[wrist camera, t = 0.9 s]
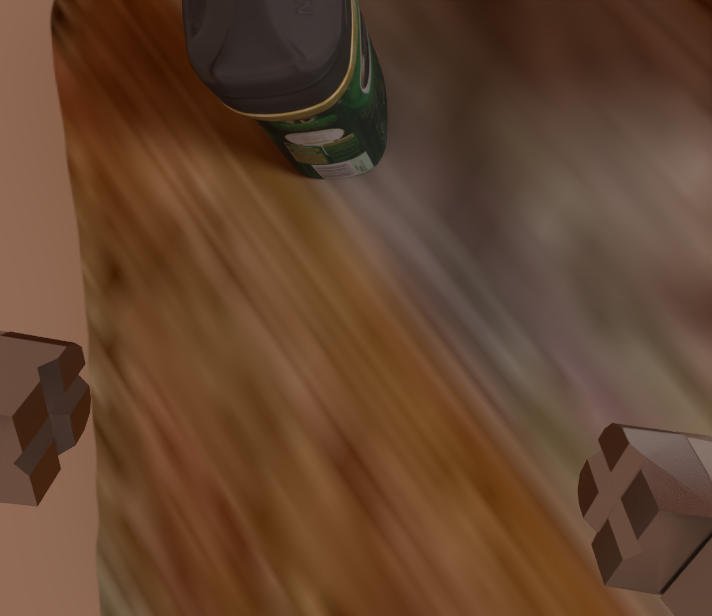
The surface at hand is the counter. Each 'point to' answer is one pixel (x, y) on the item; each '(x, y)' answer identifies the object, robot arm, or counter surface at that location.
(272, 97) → the coffee jar
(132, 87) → the counter surface
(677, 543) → the robot arm
